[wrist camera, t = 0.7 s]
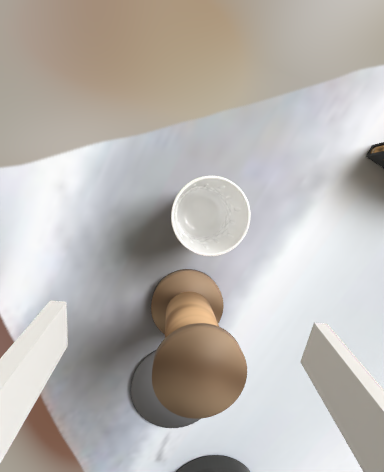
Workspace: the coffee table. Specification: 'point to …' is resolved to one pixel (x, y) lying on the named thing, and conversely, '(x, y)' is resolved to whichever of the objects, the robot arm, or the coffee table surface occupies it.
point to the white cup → (210, 216)
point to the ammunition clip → (377, 154)
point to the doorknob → (194, 348)
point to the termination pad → (153, 398)
